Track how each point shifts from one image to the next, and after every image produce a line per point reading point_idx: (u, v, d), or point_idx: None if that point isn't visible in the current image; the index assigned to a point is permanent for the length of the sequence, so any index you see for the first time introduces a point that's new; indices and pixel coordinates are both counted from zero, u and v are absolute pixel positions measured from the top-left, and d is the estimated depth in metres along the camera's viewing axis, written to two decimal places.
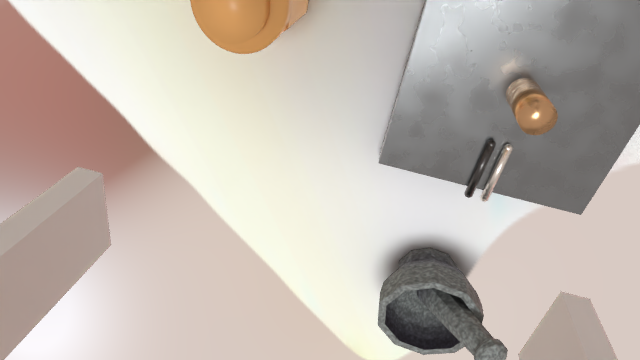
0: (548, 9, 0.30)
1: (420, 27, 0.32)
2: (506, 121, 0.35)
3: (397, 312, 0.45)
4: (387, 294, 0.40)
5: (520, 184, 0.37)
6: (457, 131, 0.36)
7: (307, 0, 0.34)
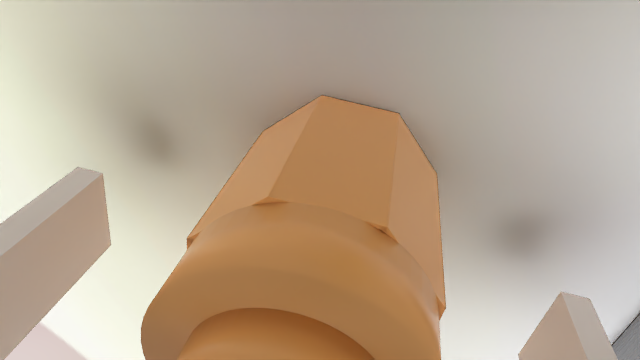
0: None
1: None
2: None
3: None
4: None
5: None
6: None
7: None
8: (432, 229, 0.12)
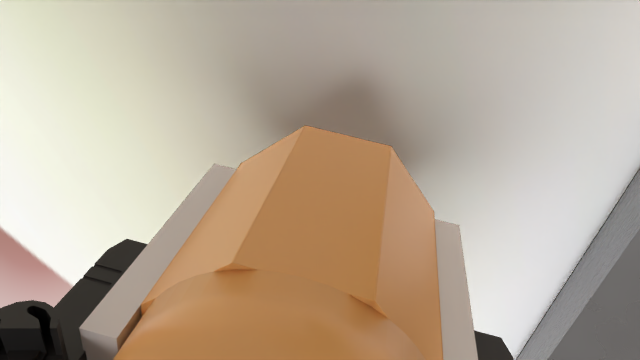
0: None
1: (629, 247, 0.17)
2: None
3: None
4: None
5: None
6: None
7: None
8: (428, 285, 0.10)
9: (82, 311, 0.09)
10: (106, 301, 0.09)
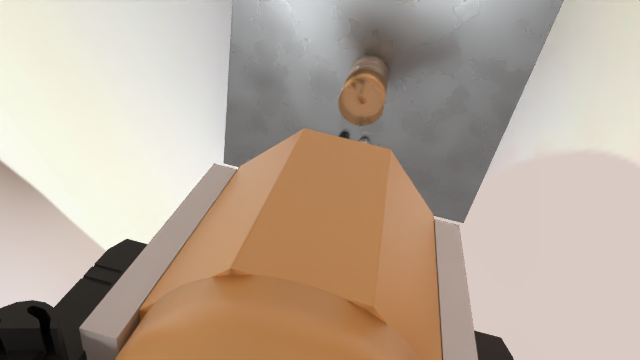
0: None
1: None
2: None
3: None
4: None
5: None
6: (304, 123, 0.29)
7: None
8: (428, 289, 0.10)
9: (82, 311, 0.09)
10: (106, 301, 0.09)
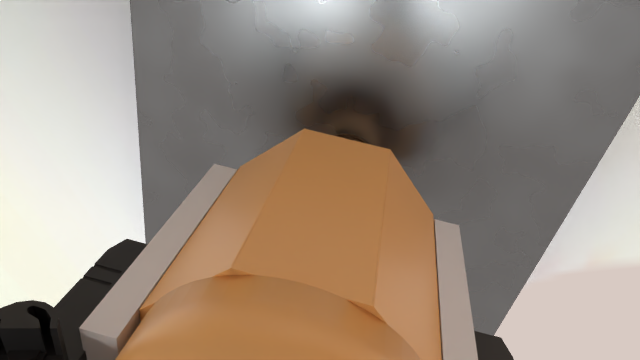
0: (356, 0, 0.14)
1: (134, 39, 0.17)
2: None
3: None
4: None
5: None
6: None
7: None
8: (427, 289, 0.10)
9: (82, 311, 0.09)
10: (106, 301, 0.09)
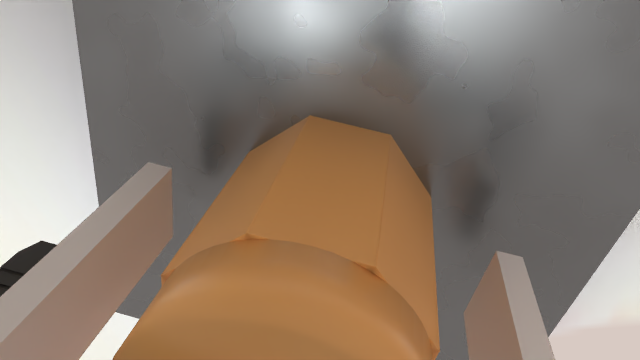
0: (343, 24, 0.12)
1: (83, 67, 0.14)
2: None
3: None
4: None
5: None
6: None
7: None
8: (425, 261, 0.11)
9: None
10: None
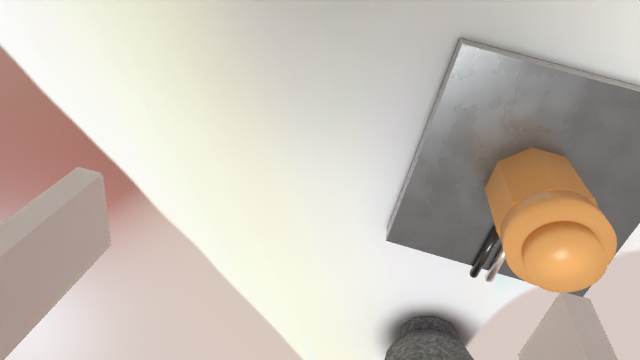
0: (557, 114, 0.31)
1: (433, 122, 0.33)
2: None
3: None
4: None
5: None
6: (465, 216, 0.37)
7: None
8: None
9: None
10: None
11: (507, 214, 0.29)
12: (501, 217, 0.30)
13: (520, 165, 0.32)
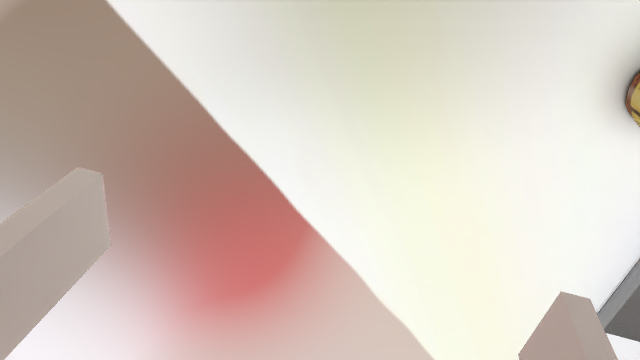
0: None
1: None
2: None
3: None
4: None
5: None
6: None
7: None
8: None
9: None
10: None
11: None
12: None
13: None
